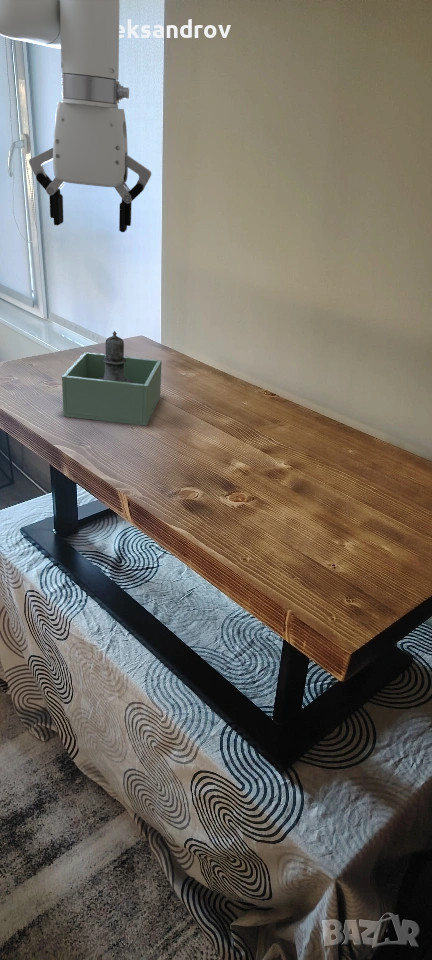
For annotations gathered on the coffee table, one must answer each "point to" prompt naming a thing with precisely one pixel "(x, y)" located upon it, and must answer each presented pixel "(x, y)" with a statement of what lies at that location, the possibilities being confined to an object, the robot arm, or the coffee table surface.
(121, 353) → the salt shaker
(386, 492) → the coffee table surface
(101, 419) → the box
